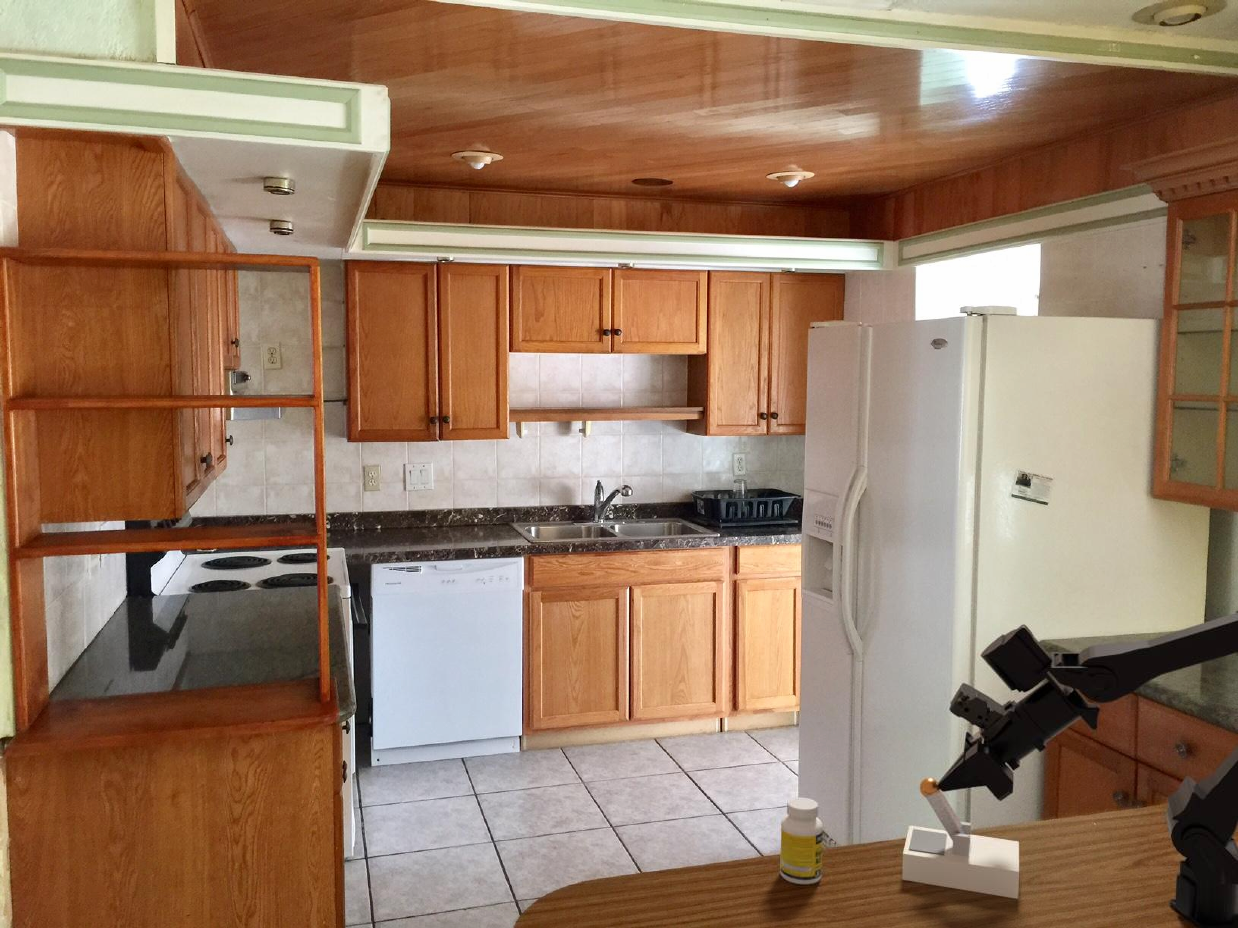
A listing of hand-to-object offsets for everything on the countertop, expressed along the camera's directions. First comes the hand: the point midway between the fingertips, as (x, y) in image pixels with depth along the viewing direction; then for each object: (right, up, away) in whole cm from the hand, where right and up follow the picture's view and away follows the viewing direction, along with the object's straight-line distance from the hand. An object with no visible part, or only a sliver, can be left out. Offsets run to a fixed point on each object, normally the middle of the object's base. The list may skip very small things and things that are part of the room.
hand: (940, 787), depth 135 cm
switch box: (+3, -11, 0) cm, 12 cm away
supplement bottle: (-18, -11, -1) cm, 22 cm away
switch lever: (+3, -7, 0) cm, 7 cm away
